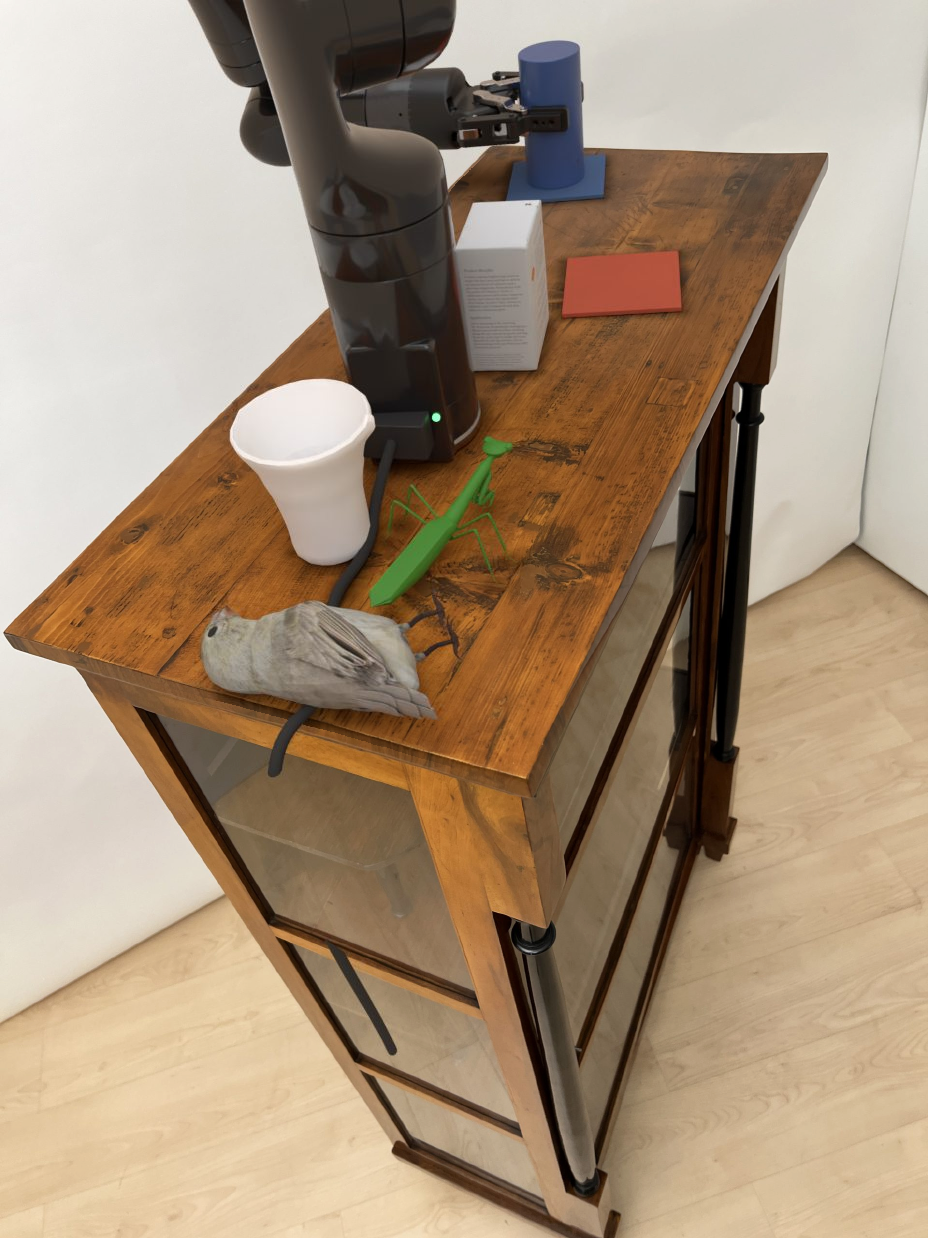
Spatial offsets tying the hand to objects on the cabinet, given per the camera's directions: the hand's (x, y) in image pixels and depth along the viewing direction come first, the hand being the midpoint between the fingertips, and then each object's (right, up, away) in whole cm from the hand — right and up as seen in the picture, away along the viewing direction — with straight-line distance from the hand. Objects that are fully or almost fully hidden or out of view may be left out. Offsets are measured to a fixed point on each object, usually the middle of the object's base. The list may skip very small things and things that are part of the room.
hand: (575, 104), depth 94 cm
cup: (-20, -46, -29) cm, 57 cm away
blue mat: (-1, -5, +6) cm, 8 cm away
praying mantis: (-12, -47, -32) cm, 58 cm away
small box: (-7, -28, -15) cm, 33 cm away
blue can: (-1, -4, +6) cm, 7 cm away
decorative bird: (-12, -51, -41) cm, 66 cm away
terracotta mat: (+3, -22, -11) cm, 24 cm away
